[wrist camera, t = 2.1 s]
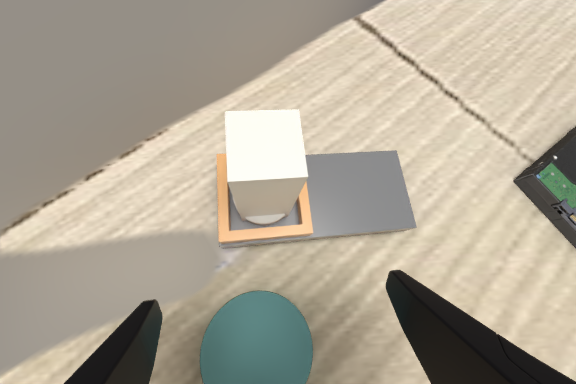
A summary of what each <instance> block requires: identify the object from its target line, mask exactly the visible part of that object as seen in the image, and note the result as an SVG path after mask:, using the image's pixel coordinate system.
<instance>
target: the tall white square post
mask: <svg viewBox="0 0 576 384" xmlns="http://www.w3.org/2000/svg"><path fill="white" fill-rule="evenodd" d="M225 128H226V156H227V182H228V185H229V187H230V190H231V193H232V195H233V201H234V204H235V206H236V209H237V211H238V213H239V214H240V216H241V219H242V221H248V222H249V223H251V224H254V225H258V226H268V225H272V224H275V223H277V222H279V221H280V220H281V219H283V218H284V217H288V215H289V213H290V211H291V210H292V208H293V206H294V204H295V202H296V200H297V198H298V196H299V194H300V192H301V190H302V188H303V186H304V184H305V182H306V180H307V178H308V172H307V164H306V157H305V150H304V143H303V136H302V129H301V121H300V114H299V109H297V110H257V111H225Z"/></svg>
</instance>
